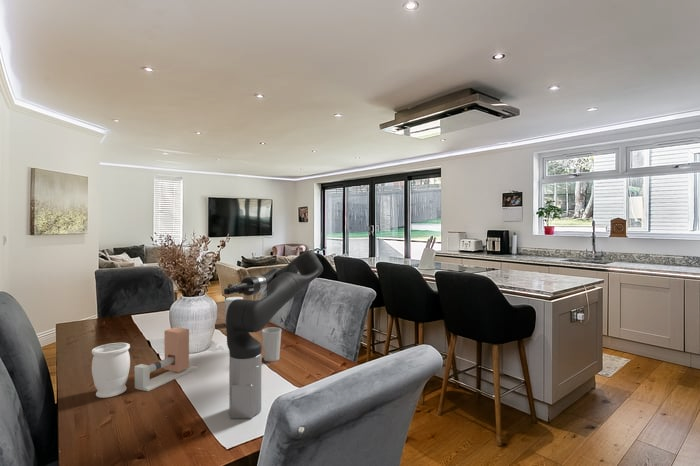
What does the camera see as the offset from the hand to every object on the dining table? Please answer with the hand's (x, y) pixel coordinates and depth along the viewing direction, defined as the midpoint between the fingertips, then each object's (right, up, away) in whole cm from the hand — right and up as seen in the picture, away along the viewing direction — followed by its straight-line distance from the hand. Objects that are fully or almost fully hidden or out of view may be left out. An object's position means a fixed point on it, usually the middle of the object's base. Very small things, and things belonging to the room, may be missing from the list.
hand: (225, 291), depth 140 cm
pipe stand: (-19, -30, -7) cm, 36 cm away
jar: (-31, -30, -19) cm, 47 cm away
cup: (+15, -30, +13) cm, 36 cm away
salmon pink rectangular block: (-18, -28, -2) cm, 33 cm away
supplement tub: (-17, -29, +64) cm, 72 cm away
